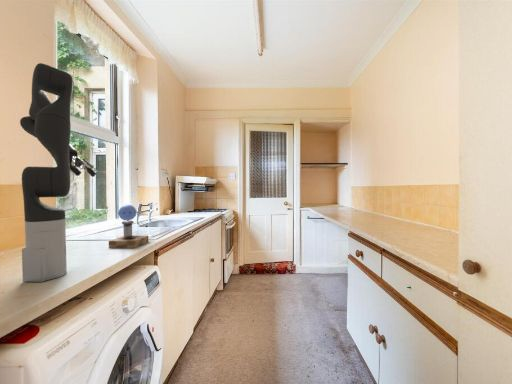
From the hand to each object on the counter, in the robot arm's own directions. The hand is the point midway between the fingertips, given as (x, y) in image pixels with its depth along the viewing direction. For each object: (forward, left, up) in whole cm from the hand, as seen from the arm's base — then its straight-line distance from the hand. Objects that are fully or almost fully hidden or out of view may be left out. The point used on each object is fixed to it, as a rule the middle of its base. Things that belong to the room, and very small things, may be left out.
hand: (87, 174), depth 105 cm
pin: (+8, -13, -33) cm, 36 cm away
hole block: (+8, -14, -33) cm, 36 cm away
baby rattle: (+21, -5, -33) cm, 39 cm away
